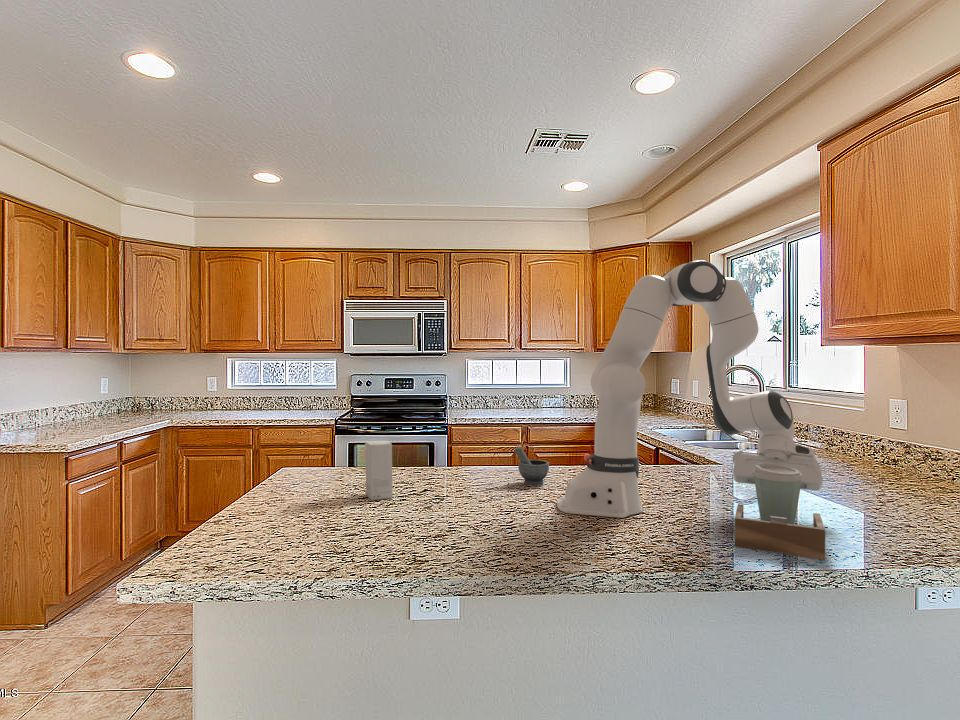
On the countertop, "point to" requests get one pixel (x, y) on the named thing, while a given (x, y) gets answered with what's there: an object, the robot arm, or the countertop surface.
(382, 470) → the skincare box
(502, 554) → the countertop surface
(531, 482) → the mortar and pestle
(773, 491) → the disposable coffee cup
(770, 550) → the dock cradle
